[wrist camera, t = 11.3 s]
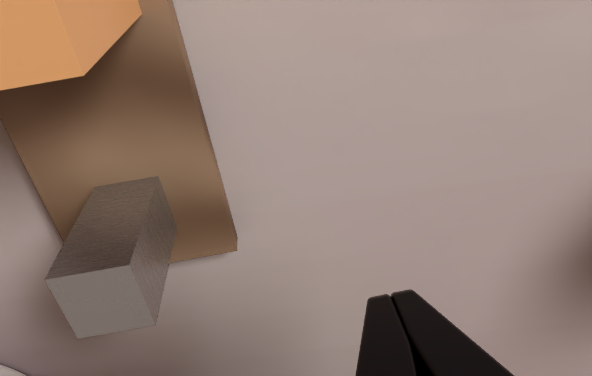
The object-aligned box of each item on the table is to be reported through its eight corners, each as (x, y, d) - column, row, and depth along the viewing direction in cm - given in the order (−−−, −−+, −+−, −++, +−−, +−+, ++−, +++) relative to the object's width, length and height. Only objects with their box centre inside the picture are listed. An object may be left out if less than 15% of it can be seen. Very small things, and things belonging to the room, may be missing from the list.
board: (237, 237, 22) (236, 250, 21) (88, 263, 22) (82, 278, 22) (117, -199, 14) (109, -205, 13) (-119, -155, 14) (-143, -159, 13)
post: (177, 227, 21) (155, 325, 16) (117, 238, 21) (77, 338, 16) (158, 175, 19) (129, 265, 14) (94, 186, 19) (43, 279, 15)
